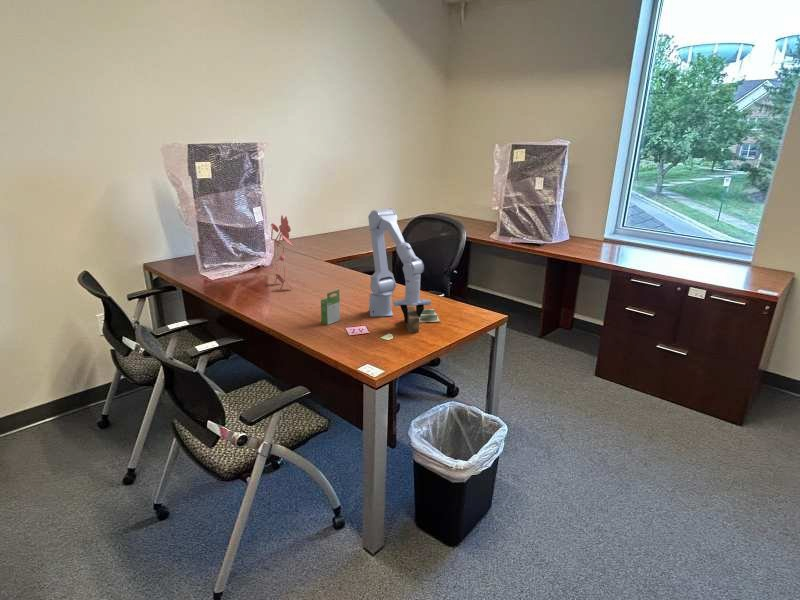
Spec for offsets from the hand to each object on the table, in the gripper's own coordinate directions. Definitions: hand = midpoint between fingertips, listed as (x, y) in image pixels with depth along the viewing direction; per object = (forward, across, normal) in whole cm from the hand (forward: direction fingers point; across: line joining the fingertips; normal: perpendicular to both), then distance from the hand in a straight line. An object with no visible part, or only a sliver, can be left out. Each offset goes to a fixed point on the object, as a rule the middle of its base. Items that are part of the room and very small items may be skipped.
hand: (411, 322), depth 191 cm
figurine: (+2, -52, +55) cm, 76 cm away
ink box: (+2, -32, +7) cm, 33 cm away
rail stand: (+2, +8, +8) cm, 11 cm away
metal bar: (+2, 0, 0) cm, 2 cm away
